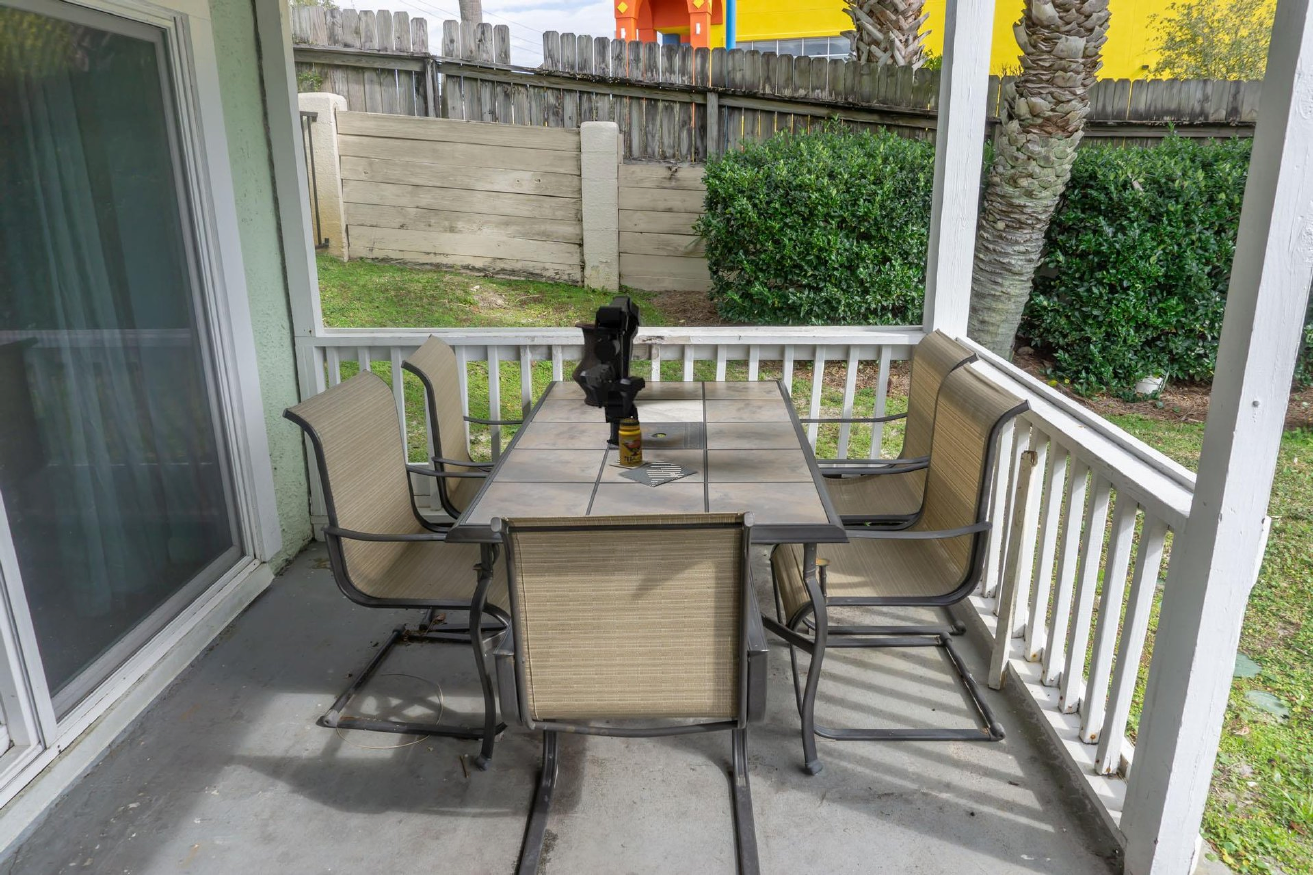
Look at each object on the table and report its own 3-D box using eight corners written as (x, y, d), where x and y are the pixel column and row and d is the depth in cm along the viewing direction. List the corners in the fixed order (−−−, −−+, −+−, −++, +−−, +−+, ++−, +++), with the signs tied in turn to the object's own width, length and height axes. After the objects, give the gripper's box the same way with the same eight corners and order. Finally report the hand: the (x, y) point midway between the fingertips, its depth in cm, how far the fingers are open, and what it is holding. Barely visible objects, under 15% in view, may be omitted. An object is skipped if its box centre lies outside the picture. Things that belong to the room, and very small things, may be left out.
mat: (617, 474, 229) (617, 473, 229) (661, 461, 240) (661, 460, 240) (652, 486, 220) (652, 485, 220) (697, 472, 231) (697, 471, 231)
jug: (563, 407, 294) (560, 317, 286) (584, 394, 311) (581, 308, 303) (624, 412, 288) (622, 320, 280) (641, 399, 305) (641, 311, 297)
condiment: (635, 469, 232) (633, 424, 229) (607, 465, 236) (606, 421, 233) (649, 461, 238) (648, 418, 235) (622, 458, 242) (620, 415, 239)
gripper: (564, 354, 234) (566, 411, 239) (617, 363, 223) (618, 423, 228) (594, 347, 243) (595, 403, 247) (646, 356, 231) (646, 414, 236)
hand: (612, 411), depth 239 cm, fingers open, 9 cm apart
